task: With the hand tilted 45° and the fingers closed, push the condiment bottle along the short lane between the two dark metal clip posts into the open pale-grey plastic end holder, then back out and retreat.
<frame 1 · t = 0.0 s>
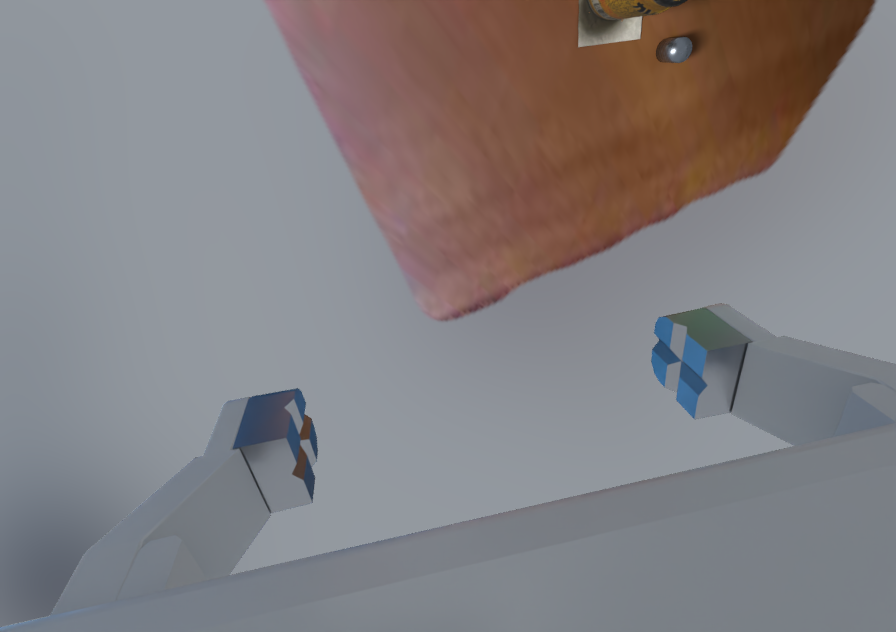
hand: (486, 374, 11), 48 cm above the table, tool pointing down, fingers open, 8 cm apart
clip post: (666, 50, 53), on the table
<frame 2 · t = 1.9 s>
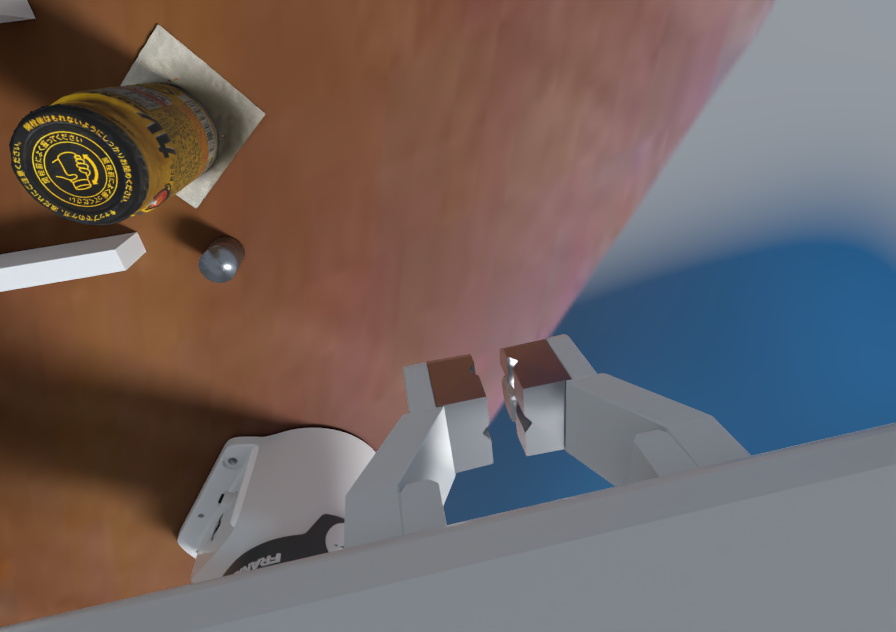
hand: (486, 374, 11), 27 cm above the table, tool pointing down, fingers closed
holder: (34, 145, 30), on the table
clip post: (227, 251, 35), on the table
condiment: (180, 123, 31), on the table
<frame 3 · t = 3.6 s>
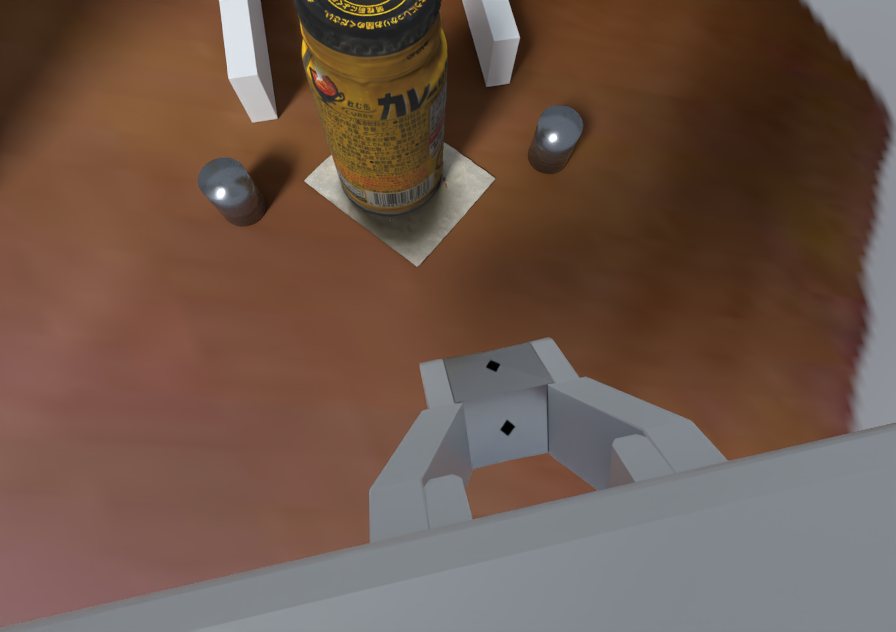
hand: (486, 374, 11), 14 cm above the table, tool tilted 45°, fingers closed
holder: (374, 56, 30), on the table
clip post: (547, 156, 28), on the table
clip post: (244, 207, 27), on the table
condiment: (401, 183, 28), on the table
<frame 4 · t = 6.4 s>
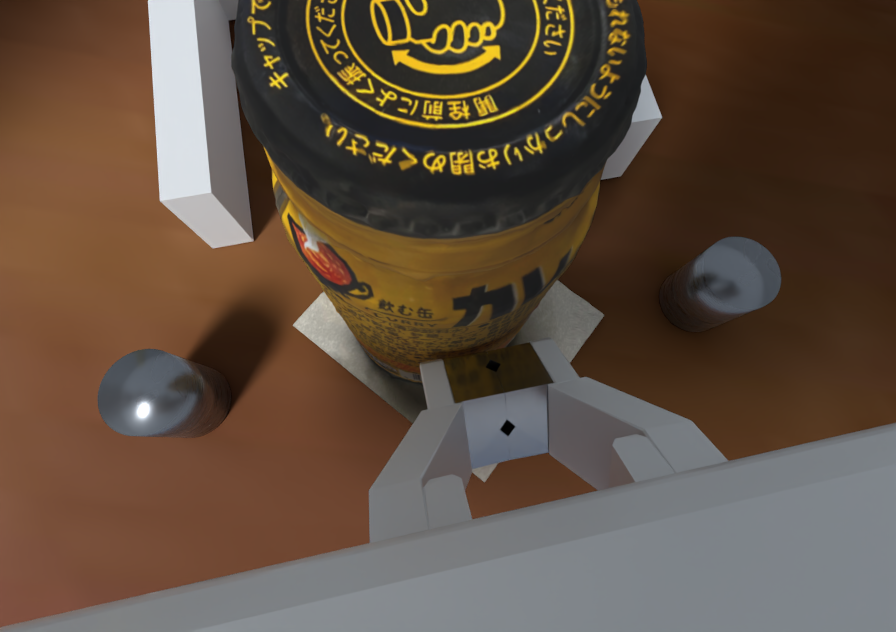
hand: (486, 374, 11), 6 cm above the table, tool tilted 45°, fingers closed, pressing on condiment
holder: (407, 134, 19), on the table
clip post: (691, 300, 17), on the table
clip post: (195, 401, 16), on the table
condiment: (450, 322, 17), on the table, touching gripper
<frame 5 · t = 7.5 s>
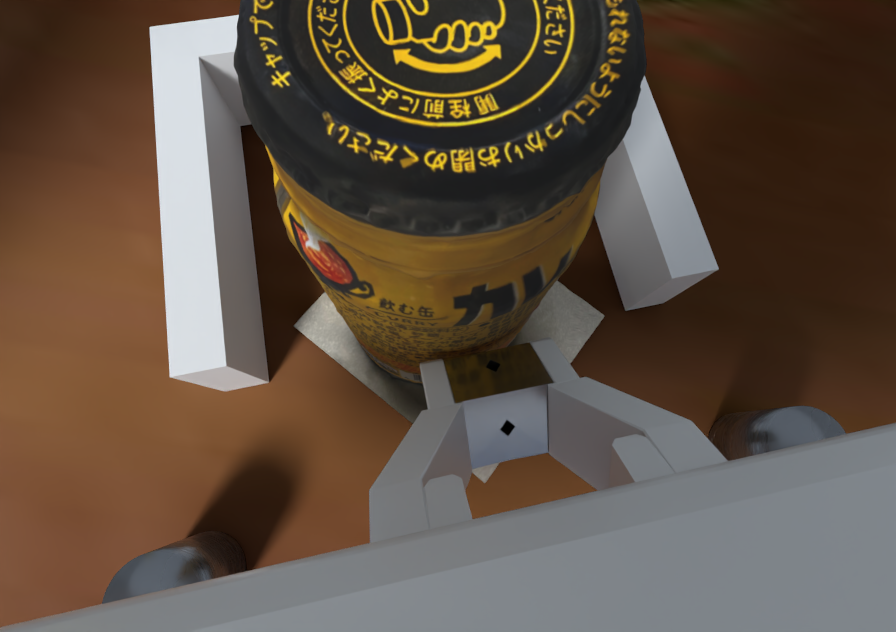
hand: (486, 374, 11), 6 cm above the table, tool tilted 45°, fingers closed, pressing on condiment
holder: (433, 256, 18), on the table
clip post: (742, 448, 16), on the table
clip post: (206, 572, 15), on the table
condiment: (451, 323, 17), on the table, touching gripper
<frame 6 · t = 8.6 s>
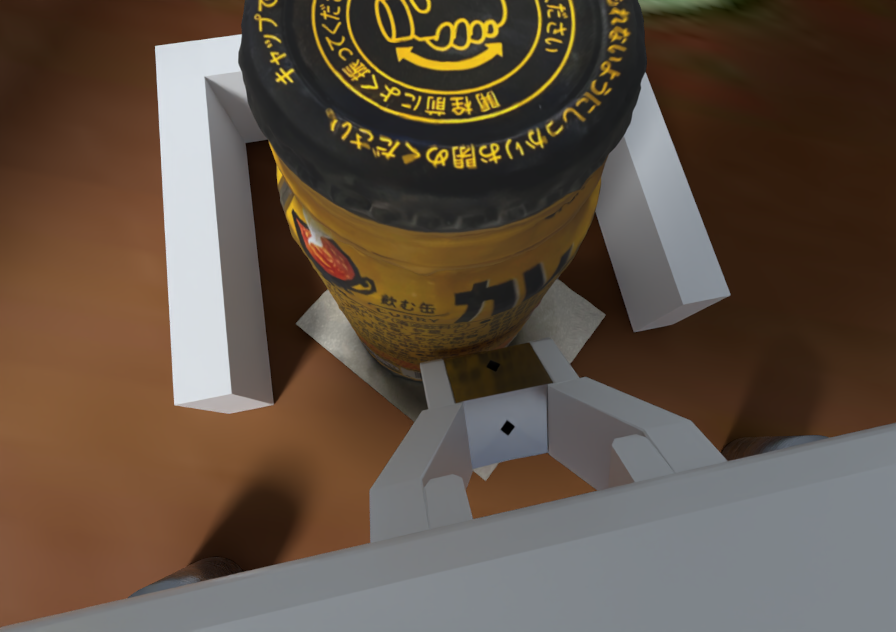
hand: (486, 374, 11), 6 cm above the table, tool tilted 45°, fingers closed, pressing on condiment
holder: (440, 275, 17), on the table
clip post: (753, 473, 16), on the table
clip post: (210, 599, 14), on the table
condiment: (452, 322, 17), on the table, touching gripper
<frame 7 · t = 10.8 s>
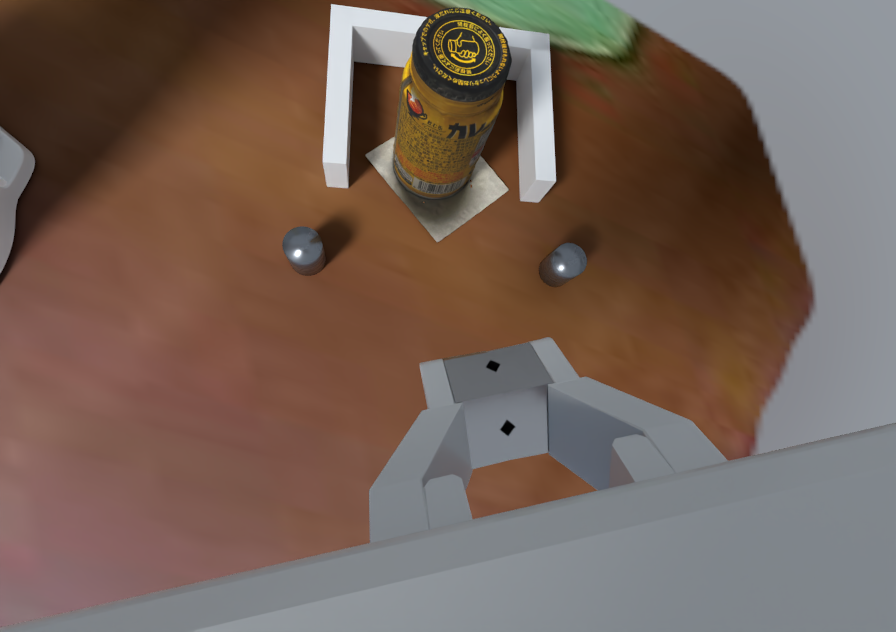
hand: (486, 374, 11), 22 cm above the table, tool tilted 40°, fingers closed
holder: (436, 152, 36), on the table
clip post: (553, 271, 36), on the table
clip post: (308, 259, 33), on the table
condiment: (437, 175, 36), on the table
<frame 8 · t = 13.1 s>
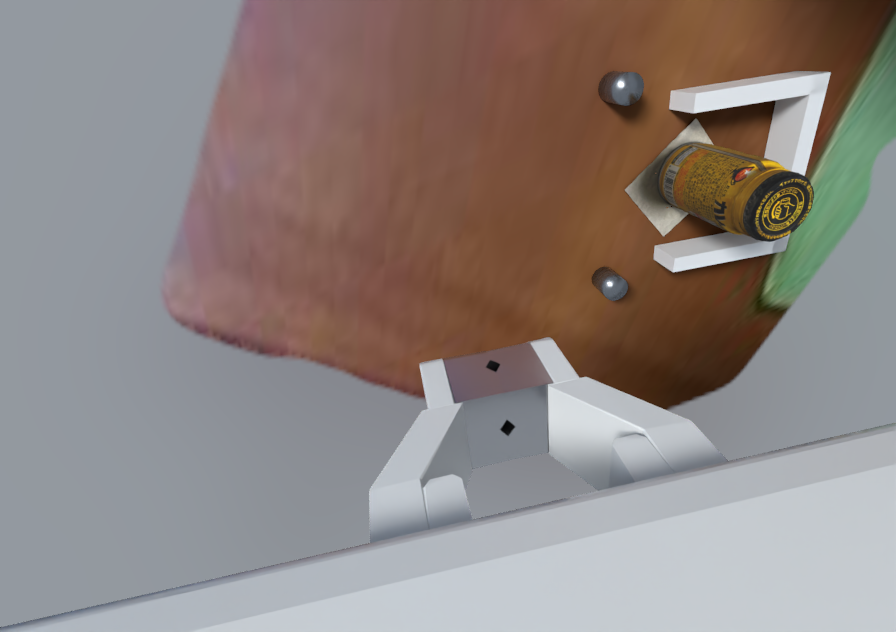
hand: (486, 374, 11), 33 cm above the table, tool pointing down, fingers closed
holder: (695, 176, 45), on the table
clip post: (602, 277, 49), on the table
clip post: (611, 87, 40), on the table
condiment: (676, 179, 45), on the table
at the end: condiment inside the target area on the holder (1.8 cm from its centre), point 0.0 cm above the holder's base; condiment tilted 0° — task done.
